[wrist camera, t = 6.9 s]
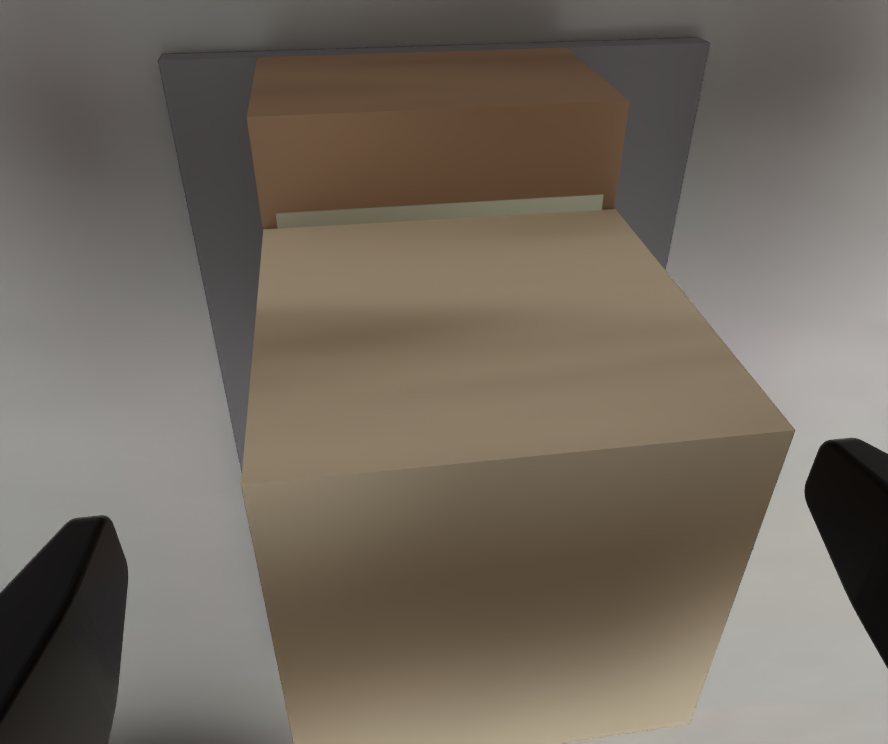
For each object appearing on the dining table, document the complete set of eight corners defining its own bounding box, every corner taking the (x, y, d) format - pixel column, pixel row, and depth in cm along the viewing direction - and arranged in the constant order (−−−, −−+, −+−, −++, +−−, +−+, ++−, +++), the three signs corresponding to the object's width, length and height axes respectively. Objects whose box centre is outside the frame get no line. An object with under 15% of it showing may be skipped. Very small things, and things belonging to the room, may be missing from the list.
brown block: (531, 422, 17) (569, 521, 15) (307, 444, 17) (308, 550, 14) (566, 47, 13) (630, 101, 10) (257, 57, 12) (246, 118, 10)
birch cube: (577, 464, 14) (689, 724, 10) (300, 493, 13) (301, 782, 9) (615, 208, 11) (795, 430, 7) (263, 229, 10) (241, 485, 6)
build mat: (590, 615, 23) (595, 626, 22) (281, 655, 21) (281, 668, 21) (699, 37, 13) (710, 42, 13) (161, 54, 12) (157, 60, 12)
